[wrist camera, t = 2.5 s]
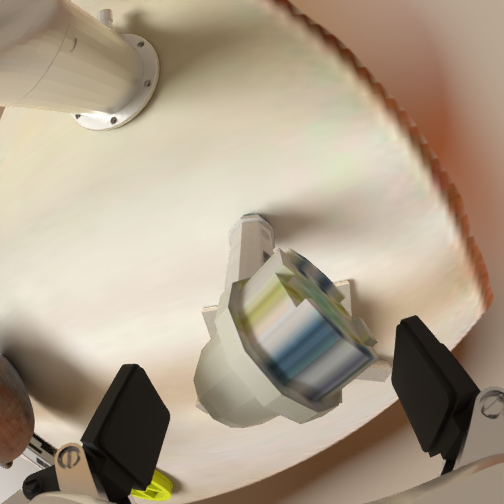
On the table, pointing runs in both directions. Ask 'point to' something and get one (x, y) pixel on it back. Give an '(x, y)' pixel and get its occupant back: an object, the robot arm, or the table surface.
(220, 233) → the table surface
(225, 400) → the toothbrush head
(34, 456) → the game console
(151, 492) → the pulley
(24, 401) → the clay pot
